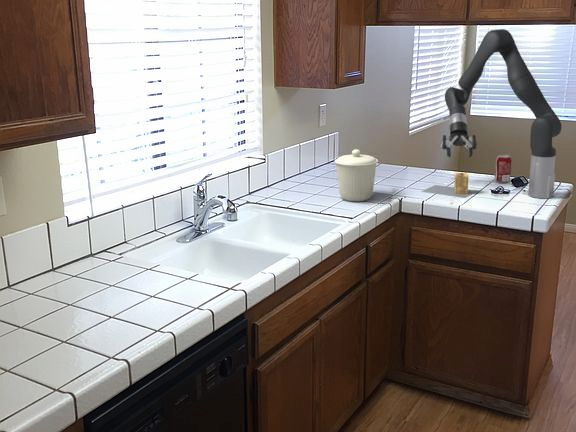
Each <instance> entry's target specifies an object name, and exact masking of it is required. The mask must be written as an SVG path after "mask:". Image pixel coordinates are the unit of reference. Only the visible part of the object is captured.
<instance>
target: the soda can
mask: <svg viewBox="0 0 576 432" xmlns="http://www.w3.org/2000/svg"><path fill="white" fill-rule="evenodd" d="M511 170H512V159H511V155H509V154H499V155H497V157H496V159H495V169H494V181H495V182H496V183H499V184H507V183H509V182H510V181H511V172H512V171H511Z"/></svg>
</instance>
